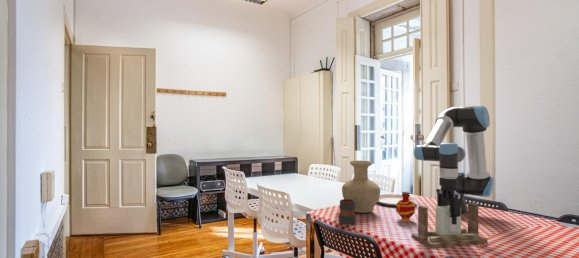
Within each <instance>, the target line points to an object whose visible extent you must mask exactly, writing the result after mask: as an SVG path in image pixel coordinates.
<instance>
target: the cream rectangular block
mask: <svg viewBox="0 0 579 258" xmlns="http://www.w3.org/2000/svg"><path fill="white" fill-rule="evenodd" d="M449 216H451V213H450V207H449V206H437V205H436V206H435V233H436V234H438V235H441V236H447V235H459V234H461V228H462V215H461V216H459V217H457V224H456V231H453V232H450V231H449Z"/></svg>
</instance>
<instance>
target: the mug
mask: <svg viewBox="0 0 579 258" xmlns="http://www.w3.org/2000/svg"><path fill="white" fill-rule="evenodd" d="M355 213H356V212H355V202H354V200H351V199H344V198H343V199H340V200H339V213H338V221H339V223H340V224H342V225H347V226H352V225H354V224H355V223H356V214H355Z"/></svg>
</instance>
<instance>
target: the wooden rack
mask: <svg viewBox="0 0 579 258" xmlns="http://www.w3.org/2000/svg"><path fill="white" fill-rule="evenodd" d="M467 208H468V211H467V228H464V227H463V228H462V227H461V234H459V235H447V236H441V235H438V234H436V233H435V230H429V226H428V225H429V207H427V206H425V205H418V206H417V209H418V210H417V216H418V217H417V232H416V233H411V238H412V239H414V240H417V242H420V243H422V244H424V245H425V246H427V247H429V248H431V249H434V248H445V247H446V248H447V247H456V246H465V245H466V246H467V245H475V244H477V245H478V244H487V243H488V238H485V237H483V236H481V235H480V234H479V204H478V203H475V202H467Z"/></svg>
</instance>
